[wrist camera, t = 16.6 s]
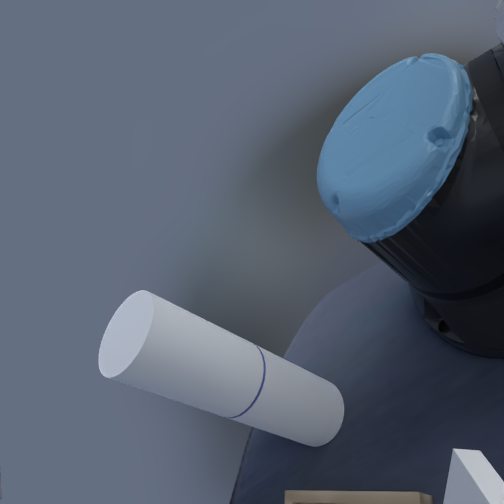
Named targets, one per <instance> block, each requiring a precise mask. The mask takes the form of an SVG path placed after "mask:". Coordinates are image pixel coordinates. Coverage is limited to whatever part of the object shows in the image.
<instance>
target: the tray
mask: <svg viewBox="0 0 504 504" xmlns="http://www.w3.org/2000/svg"><path fill="white" fill-rule="evenodd" d="M285 504H433V498H432V496H431V495H427V494H424V493H421V492H386V491H296V490H285Z"/></svg>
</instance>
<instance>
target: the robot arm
mask: <svg viewBox="0 0 504 504" xmlns="http://www.w3.org/2000/svg"><path fill="white" fill-rule="evenodd" d="M495 13H496V14H495V24H496V30H497V34H498V38H499V40H500V41H501V43H500V44H499V45H497V46H495V47H494V48H493V49H490V50H489V51H487V52H485V53H484V54H482V55H480V56H479V57H477V58H475V59H473V60H472V61H470V62H468V63H466V64H465V65H463V66H462V65H461V64H458V63H457V62H456V61H455V60H451V59H449V58H448V57H446V56H443V55H440V54H434V53H431V54H424V55H423V56H421V58H420V59H418V58H417V57H410V58H407V59H404V60H402V61H400V62H398V63H396V64H394V65H392V66H390V67H389V68H387V69H386V70H384V71H383V72H381V73H380V74H379V75H377V76H376V77H374V78H373V79H372V80H371V81H370V82H368V83H367V84H366V85H365V86H364V87H363V88H362V89H361V90H360V91H359V92H358V93H357V94H356V95H355V96H354V97H353V99H352V100H351V101H350V102H349V103H348V105H347V106H346V107H345V108H344V110H343V111H342V112H341V114H340V115H339V117H338V118H337V119H336V121H335V123H334V126H333V128H332V129H331V131H330V132H329V134H328V135H327V138H326V140H325V142H324V145H323V148H322V150H321V154H320V157H319V162H318V168H317V185H318V190H319V194H320V197H321V199H322V201H323V203H324V205H325V207H326V208H327V209H328V211H329V212H330V213H331V214H332V215H333V216H334V217H335V218H336V219H337V220H338V221H339V222H340V223H341V225H342V226H343V227H344V228H345V230H346V232H347V233H348V234H349V235H350V236H351V237H352V238H354V239H356V240H357V241H360V242H361V243H362V244H363V245H365V246H366V247H367V248H368V249H369V250H370V251H372V252H373V253H374V254H375V255H376V256H377V257H379V258H380V259H381V260H382V261H383V262H384V263H386V264H387V265H388V266H389V267H390V268H391V269H393V270H394V271H395V272H396V273H397V274H398V275H400V276H401V277H402V278H403V279H404V280H405V281H407V282H408V284H409V286H410V289H411V292H412V295H413V298H414V301H415V304H416V306H417V309H418V311H419V312H420V314H421V316H422V317H423V319H424V320H425V321H426V323H427V324H428V325H429V326H430V327H431V328H432V329H433V330H434V331H435V332H436V333H437V334H439V335H440V336H441V337H442V338H444V339H445V340H446V341H448V342H449V343H450V344H452V345H454V346H455V347H457V348H459V349H461V350H464V351H466V352H469V353H472V354H476V355H480V356H485V357H495V358H504V0H499V2H498V5H497V8H496V12H495ZM1 499H2V490H1V473H0V500H1ZM443 504H504V482H503V480H502V479H501V478H500V476H499V475H498V474H497V472H496V471H495V470H494V468H493V467H492V466H491V464H490V463H489V462H488V460H487V459H486V458H485V456H484V455H483V454H482V452H481V451H480V450H466V449H453V452H452V458H451V463H450V469H449V474H448V480H447V486H446V491H445V497H444V502H443Z"/></svg>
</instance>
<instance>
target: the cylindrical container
mask: <svg viewBox="0 0 504 504" xmlns="http://www.w3.org/2000/svg"><path fill="white" fill-rule="evenodd" d="M98 361H99V369H100V372H101V373H102V375H103V376H105V377H107V378H110V379H113V380H116V381H119V382H122V383H125V384H128V385H131V386H134V387H137V388H140V389H143V390H146V391H149V392H152V393H155V394H158V395H161V396H163V397H166V398H170V399H172V400H175V401H178V402H181V403H184V404H187V405H190V406H193V407H196V408H199V409H202V410H205V411H208V412H211V413H214V414H217V415H220V416H223V417H225V418H228V419H232V420H234V421H237V422H240V423H243V424H246V425H249V426H252V427H255V428H258V429H261V430H264V431H267V432H270V433H273V434H276V435H279V436H282V437H285V438H288V439H290V440H293V441H296V442H299V443H302V444H305V445H308V446H312V447H318V446H322V445H324V444H326V443H328V442H329V441H331V440H332V439H333V438H334V437H335V435H336V434H337V433H338V431H339V429H340V427H341V425H342V422H343V417H344V402H343V398H342V395H341V393H340V391H339V390H338V388H337V387H336V386H335V385H334V384H332V383H331V382H329V381H327V380H325V379H323V378H321V377H319V376H317V375H315V374H313V373H311V372H309V371H307V370H305V369H303V368H301V367H299V366H297V365H295V364H293V363H291V362H289V361H287V360H285V359H283V358H281V357H279V356H277V355H275V354H273V353H271V352H269V351H266V350H265V349H263V348H261V347H258V346H257V345H255V344H253V343H251V342H249V341H247V340H245V339H242V338H241V337H239V336H236V335H235V334H233V333H230V332H229V331H226V330H225V329H222V328H220V327H219V326H216V325H215V324H212V323H210V322H208V321H206V320H204V319H202V318H200V317H198V316H196V315H194V314H192V313H190V312H188V311H186V310H184V309H182V308H180V307H178V306H176V305H174V304H172V303H170V302H168V301H166V300H164V299H162V298H160V297H158V296H156V295H154V294H152V293H150V292H148V291H145V290H142V291H141V290H140V291H138V292H135V293H134V294H132V295H131V296H129V297H128V298H127V299H126V300H125V301H124V302H123V303H122V305H121V306H120V307H119V308H118V310H117V311H116V312H115V314H114V315H113V317H112V319H111V320H110V322H109V324H108V326H107V329H106V331H105V333H104V336H103V339H102V342H101V346H100V350H99V358H98Z"/></svg>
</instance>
